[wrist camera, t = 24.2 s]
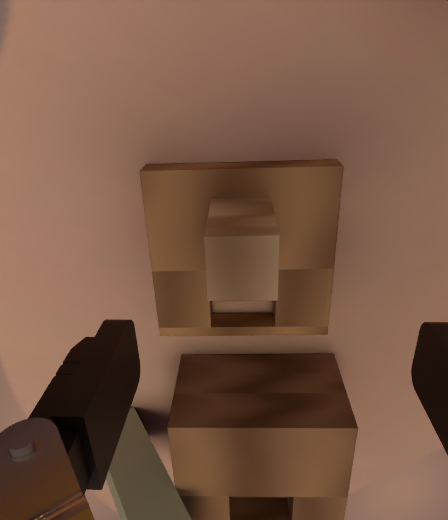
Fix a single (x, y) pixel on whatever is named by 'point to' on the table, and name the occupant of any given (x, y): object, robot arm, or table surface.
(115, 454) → the green square block
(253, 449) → the box
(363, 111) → the table surface
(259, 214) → the lid
